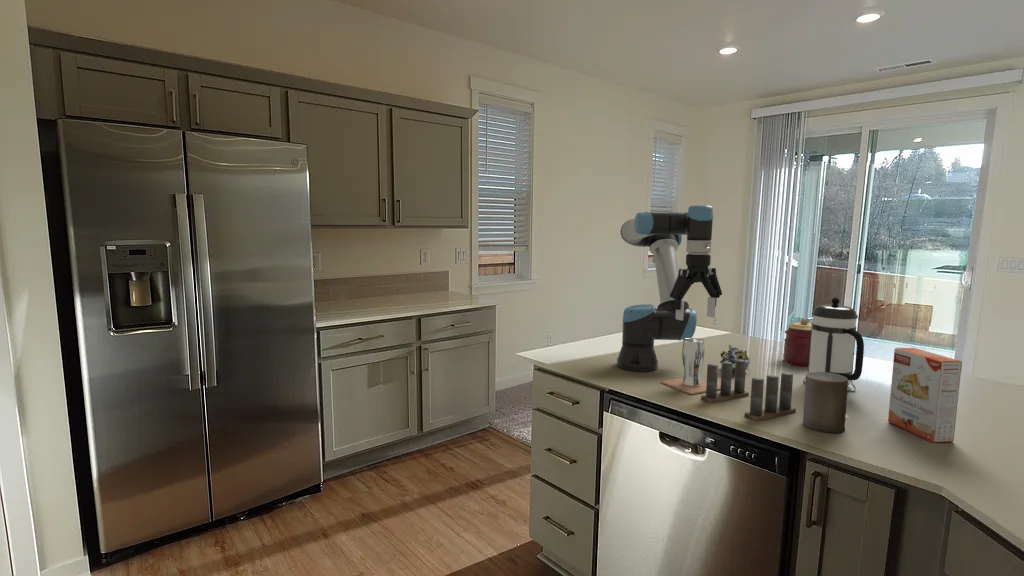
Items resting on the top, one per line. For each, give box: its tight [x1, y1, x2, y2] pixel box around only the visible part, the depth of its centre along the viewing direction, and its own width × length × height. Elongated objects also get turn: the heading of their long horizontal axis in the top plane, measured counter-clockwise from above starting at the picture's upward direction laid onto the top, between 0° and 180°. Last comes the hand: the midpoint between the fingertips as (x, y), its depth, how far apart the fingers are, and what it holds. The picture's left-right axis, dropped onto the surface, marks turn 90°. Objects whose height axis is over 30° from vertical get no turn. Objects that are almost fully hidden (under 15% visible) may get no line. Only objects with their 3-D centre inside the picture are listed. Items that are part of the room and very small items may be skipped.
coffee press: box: [802, 297, 865, 392], centre depth 168 cm, size 17×16×30 cm
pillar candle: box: [802, 372, 849, 434], centre depth 136 cm, size 10×10×15 cm
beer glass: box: [681, 337, 705, 387], centre depth 170 cm, size 7×7×15 cm
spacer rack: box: [700, 360, 797, 422], centre depth 152 cm, size 20×16×11 cm
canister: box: [782, 318, 812, 367], centre depth 201 cm, size 13×13×18 cm
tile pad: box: [660, 377, 721, 396], centre depth 171 cm, size 14×14×1 cm
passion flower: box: [719, 344, 751, 371], centre depth 189 cm, size 11×11×12 cm
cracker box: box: [887, 347, 963, 443], centre depth 132 cm, size 14×6×21 cm, turn 5°
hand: (695, 318), depth 169 cm, fingers open, 13 cm apart
